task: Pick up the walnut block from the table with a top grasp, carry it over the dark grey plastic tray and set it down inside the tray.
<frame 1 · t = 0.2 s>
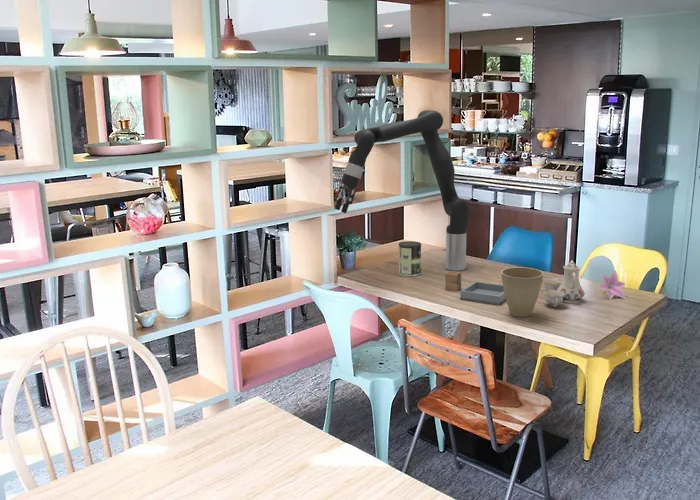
hand: (340, 211, 284), 31 cm above the table, tool tilted 20°, fingers open, 8 cm apart
lily: (610, 297, 264), on the table
coffee can: (409, 273, 302), on the table
chinaware: (561, 300, 261), on the table
walnut block: (453, 289, 277), on the table
plant pot: (520, 314, 245), on the table
grey tray: (486, 297, 265), on the table
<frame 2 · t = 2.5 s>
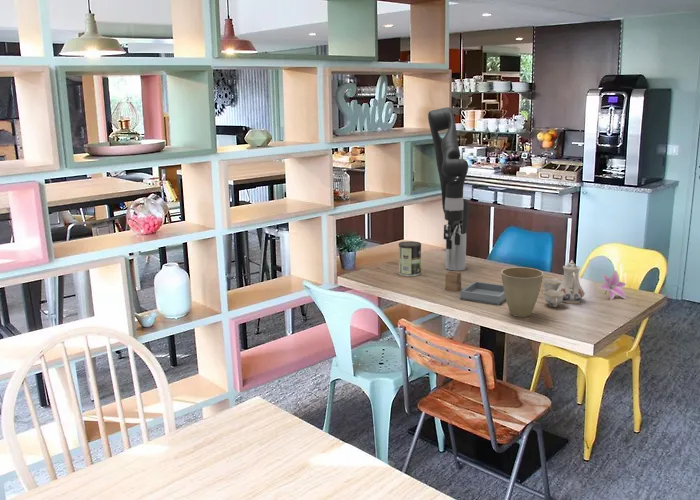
hand: (453, 247, 273), 18 cm above the table, tool pointing down, fingers open, 8 cm apart
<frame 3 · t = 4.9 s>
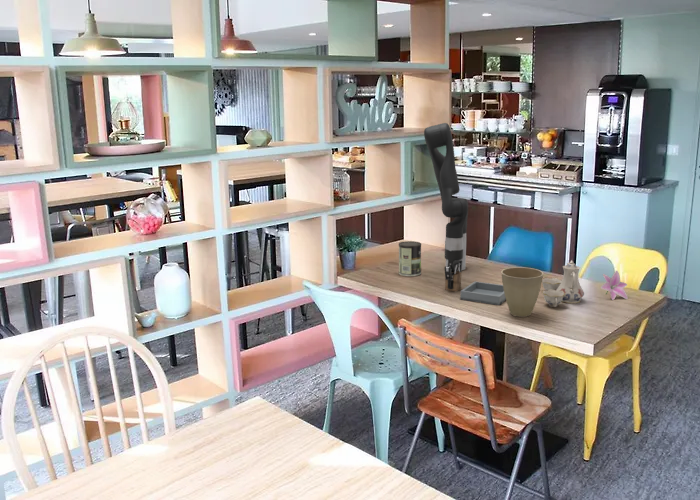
hand: (453, 286, 277), 1 cm above the table, tool pointing down, fingers closed on walnut block, 5 cm apart
walnut block: (453, 289, 277), on the table, touching gripper
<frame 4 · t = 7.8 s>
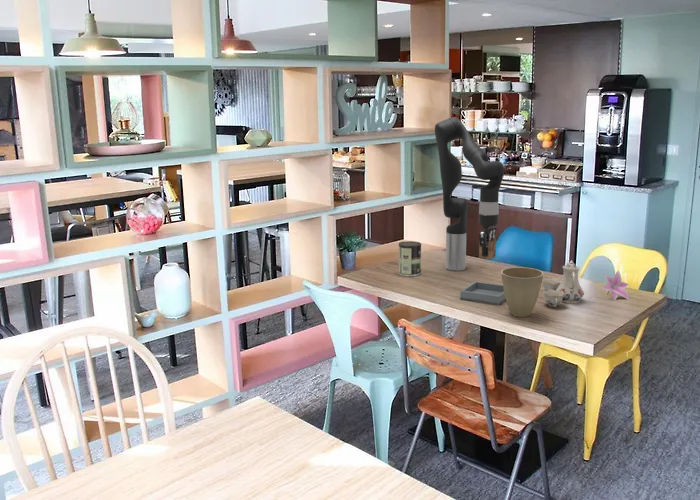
hand: (487, 254, 261), 17 cm above the table, tool pointing down, fingers closed on walnut block, 5 cm apart
walnut block: (487, 257, 262), point 16 cm above the table, touching gripper
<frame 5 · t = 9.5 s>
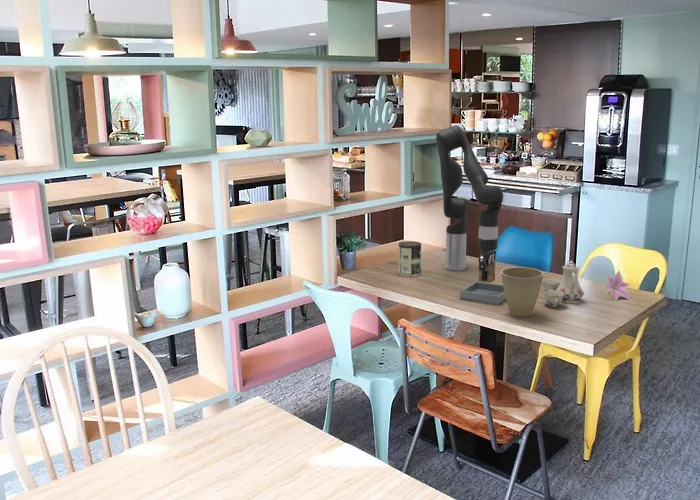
hand: (486, 278, 264), 8 cm above the table, tool pointing down, fingers closed on walnut block, 5 cm apart
walnut block: (486, 280, 264), point 7 cm above the table, touching gripper
when the fingers open (4 cm above the table, at t = 10.8 s): walnut block drops 2 cm, resting on grey tray.
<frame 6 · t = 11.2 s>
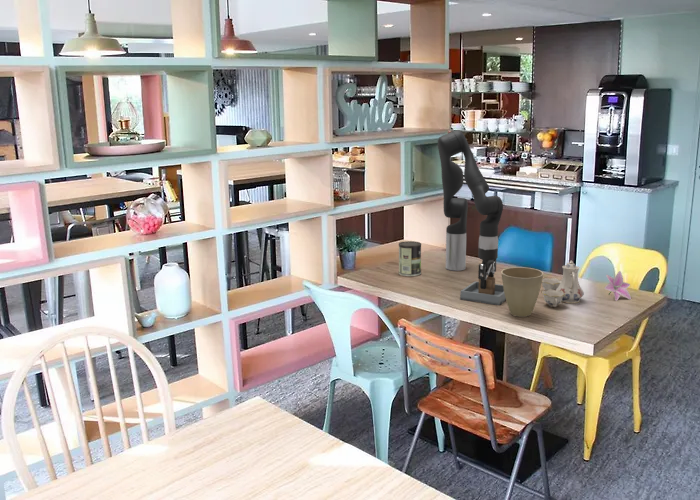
hand: (486, 286, 264), 5 cm above the table, tool pointing down, fingers open, 8 cm apart
walnut block: (486, 295, 265), point 1 cm above the table, touching grey tray
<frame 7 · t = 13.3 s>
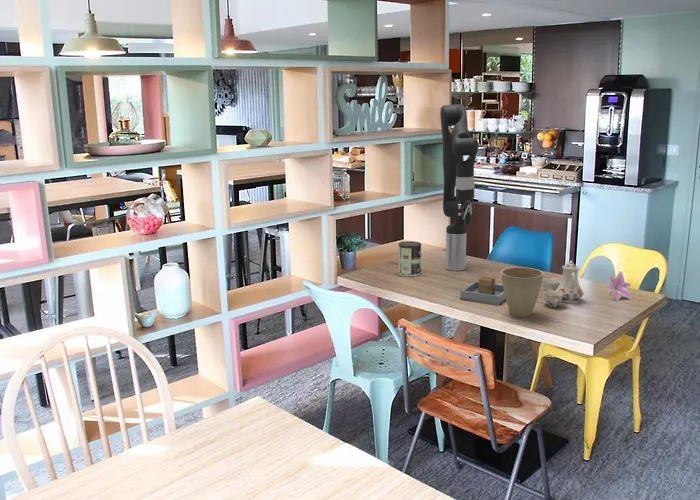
hand: (464, 225, 274), 26 cm above the table, tool pointing down, fingers open, 8 cm apart
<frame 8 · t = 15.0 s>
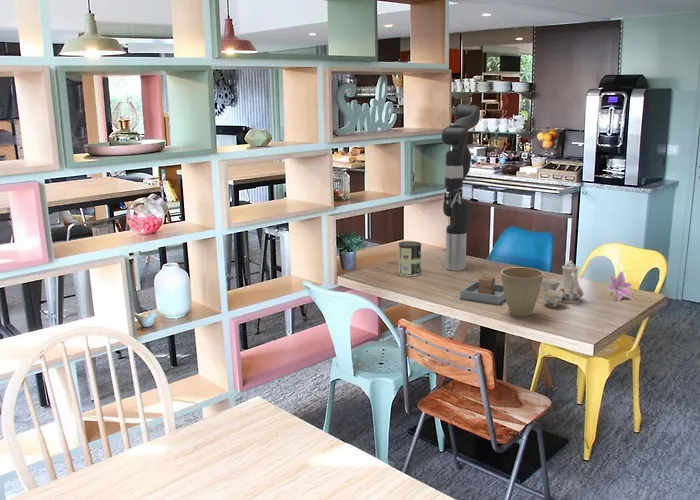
hand: (453, 214, 279), 30 cm above the table, tool pointing down, fingers open, 8 cm apart
at the end: walnut block inside the target area on the grey tray (0.1 cm from its centre), point 0.8 cm above the grey tray's base; walnut block tilted 0°; the gripper is holding nothing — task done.
